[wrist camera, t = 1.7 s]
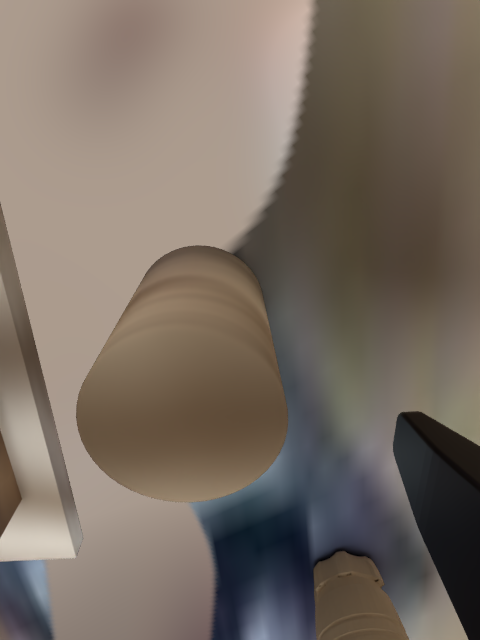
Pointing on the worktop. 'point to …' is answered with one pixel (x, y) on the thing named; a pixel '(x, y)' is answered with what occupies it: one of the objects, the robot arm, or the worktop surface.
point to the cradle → (29, 439)
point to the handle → (353, 601)
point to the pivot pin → (187, 383)
